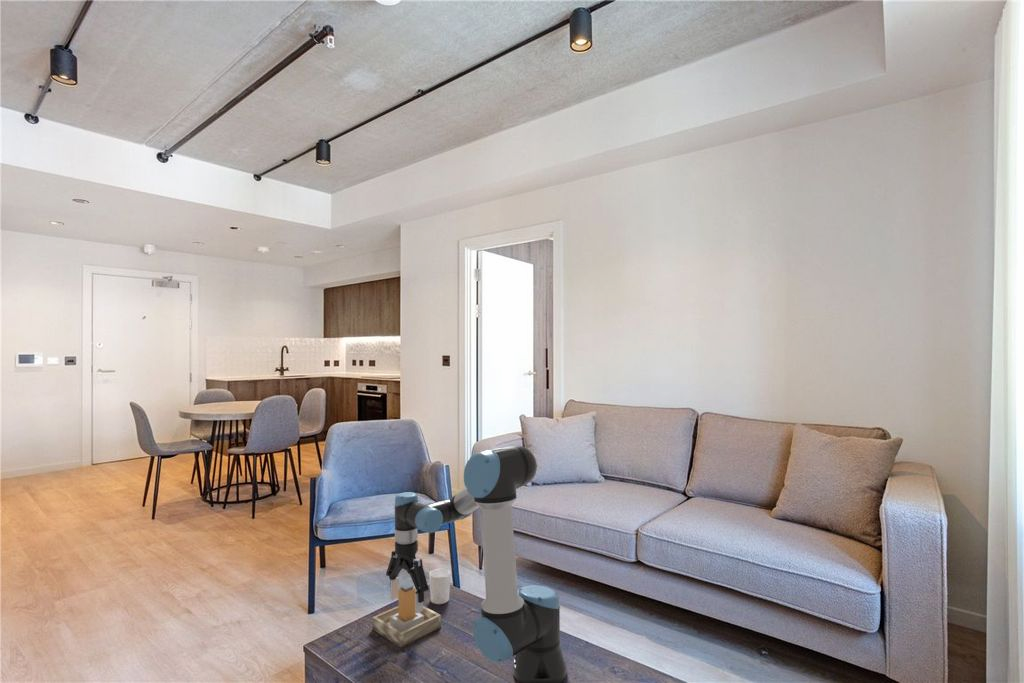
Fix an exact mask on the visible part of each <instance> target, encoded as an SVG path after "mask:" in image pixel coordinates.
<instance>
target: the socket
mask: <svg viewBox="0 0 1024 683" xmlns="http://www.w3.org/2000/svg"><path fill="white" fill-rule="evenodd" d="M422 622H424V615H422V614H420V613H416V617H415V618H413V619H410V620H408V621H406V622H404V621H402V620H400V619H399V618H398V613H397V614H395V615H392V616H390V625H391V626H392V627H394V628H396V629H397V630H399V631H401V632H403V631H405V630H407V629H409V628H412V627H414V626H416V625H418V624H420V623H422Z"/></svg>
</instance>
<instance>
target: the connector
mask: <svg viewBox="0 0 1024 683" xmlns="http://www.w3.org/2000/svg"><path fill="white" fill-rule="evenodd" d="M415 592H417V591H416V588H415V587H414V585H413V584H412V585H411V584H409V583H406V584H404V585H401V586H400V587H399V589H398V598H397V600H398V618H399V619H400V620H402V621H404V622H406V621H408V620H410V619H413V618H415V617H416V613H415Z"/></svg>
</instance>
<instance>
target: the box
mask: <svg viewBox="0 0 1024 683" xmlns="http://www.w3.org/2000/svg"><path fill="white" fill-rule="evenodd" d="M397 613H398V606H394V607H393V608H391V609H388V610H386V611H384V612H381V613H379V614H377V615H375V616H372V618H371V620H372V622H371V625H372V631H374V632H376V633H377V634H379V635H381V636H382V637H384V638H385V639H386V640H388V641H390V642H391V643H393V644H395V645H396V646H398V648H404V647H406V646H408V645H409V644H411V643H413V642H416V641H417V640H419V639H422V638H423V637H425V636H427V635H429V634H431V633H432V632H434V631H436V630H438V629H440V628H441V627H442V615H441V614H439V612H436V611H434V610H432V609H430V608H429V607H427V606H425V605H423V611H421V612H419V613H420V614H422V615H424V622H422V623H420V624H418V625H416V626H414V627H412V628H409V629H407V630H405V631H403V632H401V631H399V630H397V629H396V628H394V627H392V626H391V625H390V616H392V615H395V614H397Z"/></svg>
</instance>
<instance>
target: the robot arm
mask: <svg viewBox="0 0 1024 683" xmlns="http://www.w3.org/2000/svg"><path fill="white" fill-rule="evenodd" d="M537 468H538V464H537V460H536V457H535V455H534V454H533V452H532V451H531V450H530V449H528V448H526V447H525V446H522V445H508V446H504V447H498V448H491V449H485V450H482V451H480V452H479V451H478V452H475V453H473V455H471V456H470V457H469V459H468V460H467V461H466V463H465V466H464V470H463V483H464V486H465V488H463V489H462V490H460V491H459V492H458V493H457V494H455V495H453V496H452V497H449V498H446V499H443V500H439V501H435V502H431V503H428V504H424V503H421V502H419V499H418V494H417V493H415V492H414V491H405V492H401V493H398V494H397V495H395V498H394V507H393V508H394V541H395V542H394V550H392V551H391V555H390V556H391V558H390V560H389V562H388V563H389V564H388V567H387V570H386V573H385V575H386V576H387V577H388V578H389V580H390V584H389V585H390V586H389V587H390V600H391V601H394V600H396V599H398V589H400V587H399V586H400V585H399V584H400V583H399V582H400V579H399V575H400V573H401V571H402V569H404V570H405V571H406V572H407V574H408V575H409V576H410V578H411V581H412V582H413V587H414V588H415V591H416V592H415V613H419V612H421V611H423V606H424V601H425V592H427V591H430V587H429V585H428V582H427V578H426V574H425V569H424V566H423V559H422V558H419V559H417V558H416V554H417V552H418V551H419V541H418V539H419V537H418V536H419V534H418V533H419V531H418V530H420V531H421V532H425V533H429V534H432V533H436V532H437V531H438V530H439V529H440V528H441V527H442V526H443V525H446V524H449V523H453V522H455V521H459V520H464V519H466V518H468V517H471V516H472V513H473V512H474V511H475V510H477V509H479V508H480V509H479V510H480V522H481V526H480V527H481V538H482V541H481V542H482V554H483V570H484V586H485V598H484V599H483V601H482V602H481V604H480V610H481V617H478V618H476V619H477V620H475V622H474V624H473V628H472V630H473V637H474V642H475V644H476V646H477V648H478V649H479V651H480V653H481V655H483V657H484V658H485V659H486V660H488V661H489V662H492V663H493V664H501V663H503V662H505V661H508V660H511V659H513V657H514V656H515V657H514V660H513V663H512V664H513V665H512V673H513V677H514V678H515V679H516V681H517V682H518V683H562V682H564V681H565V680H566V676H567V663H566V659H565V658H564V655H563V652H562V651H563V650H562V648H561V642H560V641H561V637H560V636H561V630H560V629H561V627H560V626H561V625H560V624H561V622H560V620H561V619H560V618H561V615H560V613H561V612H560V611H561V610H560V609H561V606H560V598H559V595H558V593H557V592H556V591H555V590H554V589H552V588H551V587H548V586H543V585H537V584H531V585H530V584H529V585H524V586H522V587H520V588H519V589H518V577H517V575H518V574H517V565H516V564H517V562H516V561H517V560H516V551H515V550H516V549H515V548H516V547H515V536H514V521H513V520H514V519H513V510H512V509H513V508H512V505H513V504H514V502H515V501H516V500H517V490H518V489H519V488H521V487H523V486H525V485H528V484H529V483H530V482H532V480H533V479H534V477H535V476H536V474H537V471H538V469H537ZM518 590H519V591H518Z"/></svg>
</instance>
